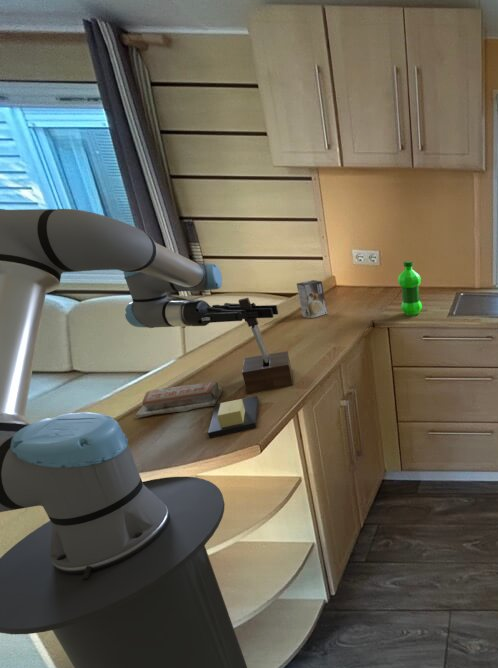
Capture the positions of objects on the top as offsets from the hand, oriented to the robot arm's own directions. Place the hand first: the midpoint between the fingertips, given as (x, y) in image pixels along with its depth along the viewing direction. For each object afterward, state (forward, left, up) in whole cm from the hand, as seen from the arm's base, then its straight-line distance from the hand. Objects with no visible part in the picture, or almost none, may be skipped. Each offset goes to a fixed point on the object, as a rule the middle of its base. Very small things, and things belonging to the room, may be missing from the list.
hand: (274, 311), depth 120 cm
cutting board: (-18, +13, -23) cm, 32 cm away
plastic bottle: (+53, -55, -23) cm, 80 cm away
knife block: (+2, +5, -23) cm, 24 cm away
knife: (+2, +5, -15) cm, 16 cm away
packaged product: (-3, +27, -23) cm, 36 cm away
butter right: (-21, +12, -21) cm, 33 cm away
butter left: (-21, +14, -21) cm, 33 cm away
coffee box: (+72, -13, -23) cm, 77 cm away
